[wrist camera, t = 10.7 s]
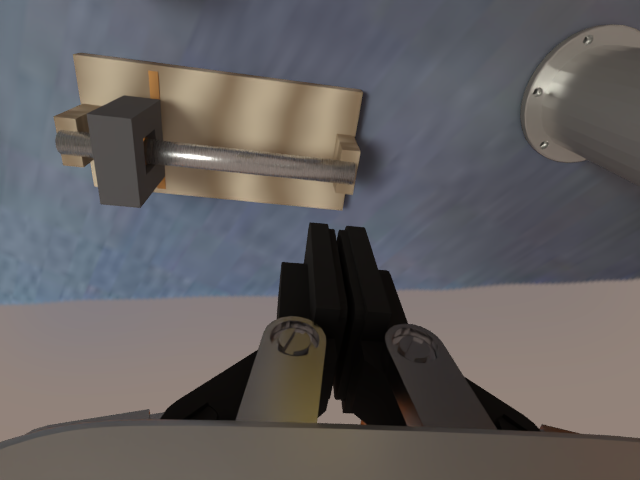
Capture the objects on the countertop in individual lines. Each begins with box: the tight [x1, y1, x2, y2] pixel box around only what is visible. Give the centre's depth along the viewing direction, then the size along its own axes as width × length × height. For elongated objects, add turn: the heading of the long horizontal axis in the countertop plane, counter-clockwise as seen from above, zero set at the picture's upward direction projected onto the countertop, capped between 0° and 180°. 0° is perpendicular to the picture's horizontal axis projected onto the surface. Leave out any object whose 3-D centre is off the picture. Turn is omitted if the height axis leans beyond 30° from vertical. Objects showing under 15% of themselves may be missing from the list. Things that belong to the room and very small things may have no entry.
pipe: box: [56, 130, 356, 185], centre depth 33 cm, size 24×2×2 cm, turn 82°
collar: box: [87, 95, 165, 208], centre depth 33 cm, size 3×7×7 cm, turn 172°
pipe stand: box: [54, 53, 363, 210], centre depth 36 cm, size 25×12×6 cm, turn 82°
